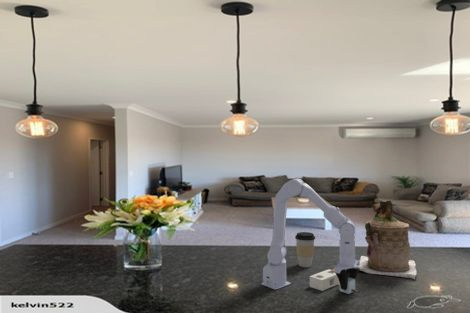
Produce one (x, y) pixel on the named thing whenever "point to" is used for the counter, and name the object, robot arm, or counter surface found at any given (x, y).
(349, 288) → the charger
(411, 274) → the cookie jar
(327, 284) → the power strip
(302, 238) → the coffee cup
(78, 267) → the counter surface
